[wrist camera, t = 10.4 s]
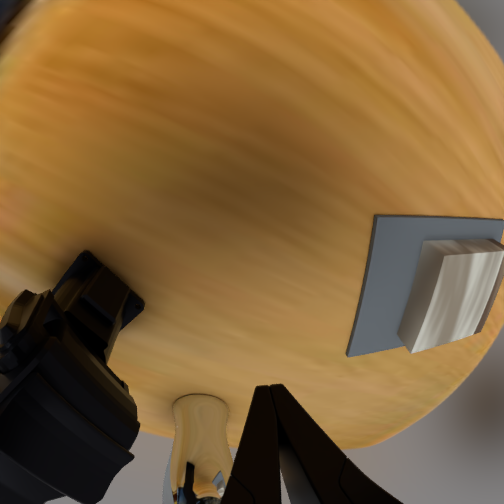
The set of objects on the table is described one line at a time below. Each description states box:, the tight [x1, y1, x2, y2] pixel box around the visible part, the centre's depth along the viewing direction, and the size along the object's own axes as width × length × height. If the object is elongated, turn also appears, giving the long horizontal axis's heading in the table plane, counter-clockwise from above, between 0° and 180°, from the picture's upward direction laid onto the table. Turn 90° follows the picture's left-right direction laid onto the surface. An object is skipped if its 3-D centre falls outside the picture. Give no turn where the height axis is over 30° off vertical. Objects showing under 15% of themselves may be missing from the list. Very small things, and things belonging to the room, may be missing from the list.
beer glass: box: [162, 394, 234, 504], centre depth 21 cm, size 7×7×15 cm
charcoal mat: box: [346, 215, 504, 357], centre depth 24 cm, size 18×14×1 cm
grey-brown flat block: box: [397, 239, 504, 353], centre depth 23 cm, size 3×10×11 cm
